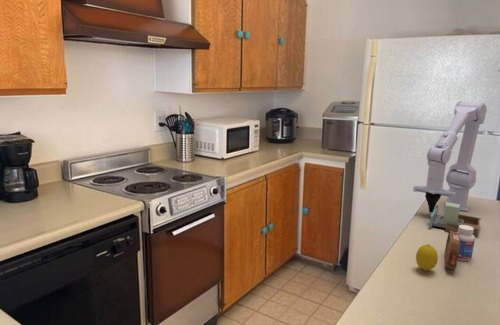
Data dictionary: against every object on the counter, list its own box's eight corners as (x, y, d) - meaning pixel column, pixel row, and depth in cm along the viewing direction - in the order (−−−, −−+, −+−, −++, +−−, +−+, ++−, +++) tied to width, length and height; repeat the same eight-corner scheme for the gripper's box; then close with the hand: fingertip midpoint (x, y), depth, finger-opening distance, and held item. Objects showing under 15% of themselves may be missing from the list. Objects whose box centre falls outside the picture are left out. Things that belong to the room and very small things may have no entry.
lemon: (411, 270, 111) (414, 244, 109) (419, 264, 115) (422, 238, 113) (431, 277, 107) (434, 250, 106) (438, 270, 111) (442, 244, 109)
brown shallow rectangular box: (449, 220, 150) (450, 212, 150) (479, 226, 145) (480, 218, 144) (444, 231, 140) (446, 223, 139) (477, 237, 134) (478, 229, 134)
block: (444, 219, 146) (446, 202, 144) (457, 222, 144) (460, 204, 142) (442, 223, 142) (445, 205, 141) (456, 226, 140) (458, 207, 138)
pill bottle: (464, 263, 116) (469, 232, 114) (447, 255, 121) (451, 226, 118) (475, 258, 119) (480, 228, 116) (458, 251, 123) (462, 222, 121)
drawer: (431, 214, 154) (433, 204, 153) (464, 220, 148) (465, 210, 147) (425, 225, 142) (426, 215, 141) (460, 233, 136) (462, 222, 135)
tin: (444, 251, 123) (447, 225, 121) (455, 253, 122) (459, 227, 120) (444, 272, 110) (448, 244, 108) (457, 275, 109) (461, 247, 107)
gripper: (413, 177, 151) (409, 210, 154) (455, 183, 143) (450, 218, 146) (416, 173, 157) (413, 206, 160) (457, 179, 149) (452, 213, 152)
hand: (431, 211), depth 154 cm, fingers closed
